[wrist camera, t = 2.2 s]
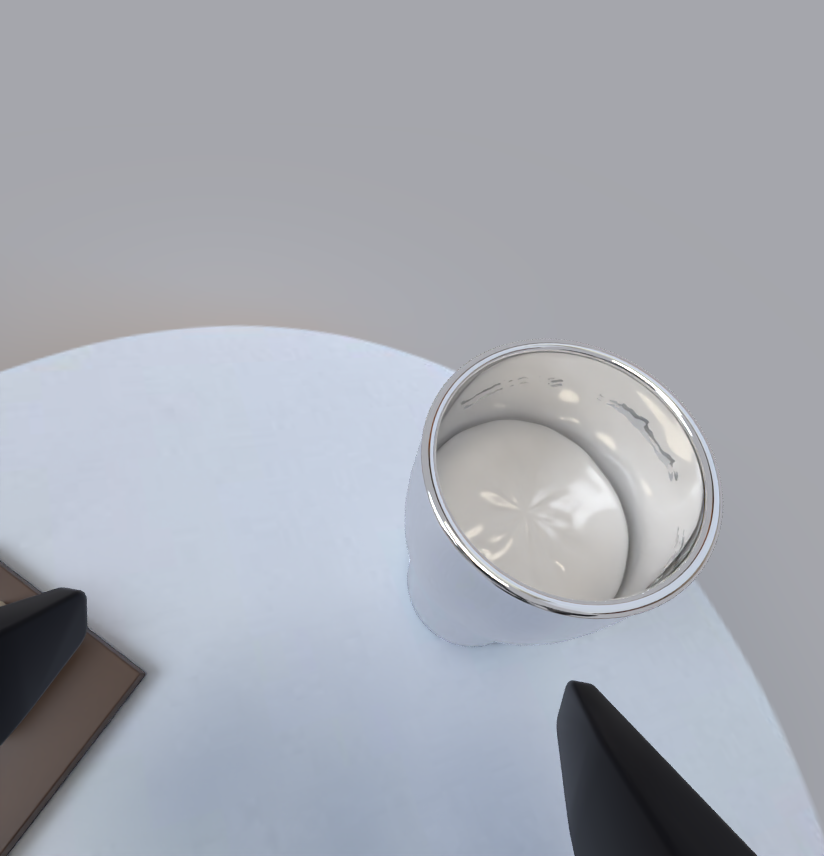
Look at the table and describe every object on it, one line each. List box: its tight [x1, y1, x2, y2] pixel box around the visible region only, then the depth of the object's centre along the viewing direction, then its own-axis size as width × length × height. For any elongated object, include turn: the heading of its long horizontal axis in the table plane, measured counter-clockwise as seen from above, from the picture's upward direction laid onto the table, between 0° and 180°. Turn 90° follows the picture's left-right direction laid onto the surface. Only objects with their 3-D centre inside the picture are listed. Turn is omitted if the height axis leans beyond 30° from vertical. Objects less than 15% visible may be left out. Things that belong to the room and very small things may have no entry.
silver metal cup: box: [405, 339, 723, 647], centre depth 17 cm, size 7×7×15 cm
